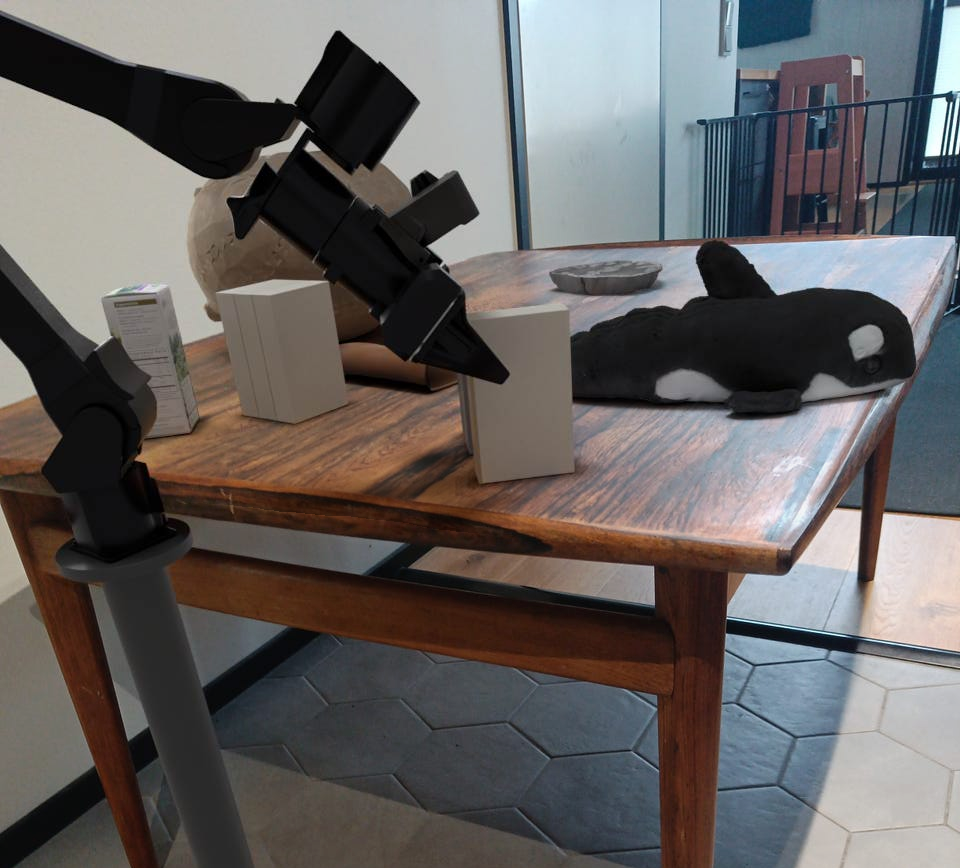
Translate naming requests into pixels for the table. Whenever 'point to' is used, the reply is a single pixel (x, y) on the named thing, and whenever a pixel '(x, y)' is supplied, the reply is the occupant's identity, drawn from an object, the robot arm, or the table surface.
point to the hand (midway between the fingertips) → (497, 365)
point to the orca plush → (746, 344)
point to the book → (524, 395)
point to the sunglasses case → (391, 366)
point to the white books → (283, 349)
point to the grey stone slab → (607, 277)
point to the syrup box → (155, 351)
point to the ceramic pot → (275, 241)
